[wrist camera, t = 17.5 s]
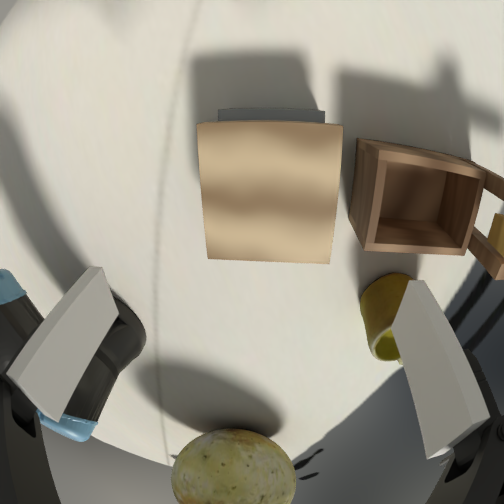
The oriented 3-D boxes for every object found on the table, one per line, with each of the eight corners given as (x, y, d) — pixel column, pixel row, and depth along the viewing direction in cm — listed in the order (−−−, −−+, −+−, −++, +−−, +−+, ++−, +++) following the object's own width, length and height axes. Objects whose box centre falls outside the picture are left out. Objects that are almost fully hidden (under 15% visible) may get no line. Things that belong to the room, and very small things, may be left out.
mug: (345, 280, 31) (389, 346, 23) (410, 251, 31) (458, 303, 24) (342, 334, 39) (371, 387, 31) (396, 307, 39) (429, 354, 31)
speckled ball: (190, 439, 69) (171, 519, 44) (179, 398, 54) (145, 514, 28) (285, 452, 68) (278, 534, 42) (311, 416, 53) (307, 536, 27)
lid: (206, 121, 22) (196, 124, 19) (335, 123, 20) (343, 126, 18) (215, 243, 28) (207, 258, 25) (325, 247, 27) (329, 263, 24)
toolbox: (348, 218, 29) (377, 280, 19) (356, 138, 24) (401, 162, 15) (456, 228, 27) (505, 280, 18) (471, 160, 23) (534, 195, 13)
